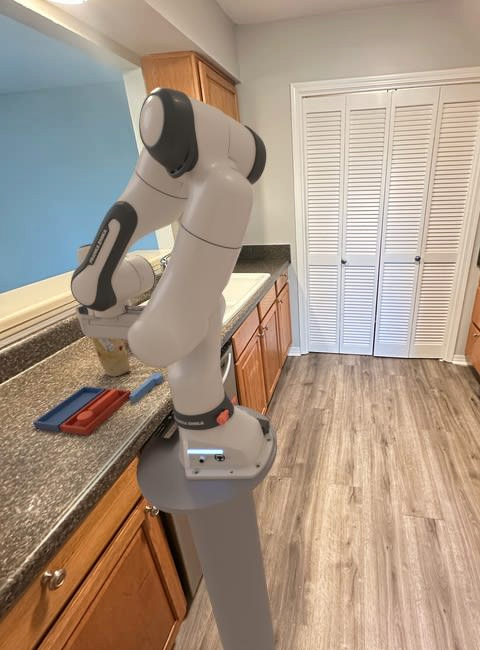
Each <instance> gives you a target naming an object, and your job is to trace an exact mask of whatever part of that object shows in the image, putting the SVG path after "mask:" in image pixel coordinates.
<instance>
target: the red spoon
mask: <svg viewBox="0 0 480 650" xmlns="http://www.w3.org/2000/svg"><path fill="white" fill-rule="evenodd" d="M112 389H113V390H111V391H110V392H109V393H107V394H106V395H105V396H104V397H102V398H101V399H100V400H99V401H97V402H96V403H95V404H94V405H92V406H91V407H90V408H89V409H88V410H89V411H85V412H82V413H81V414H79V415H78V416H77V419H78V422H79V424H80V425H82V426H84V425H88V424H90V423H91V422H92V421H94V420H95V416H96V415H98V414H99V413H100V412H101V411H102V410H104V409H105V408H106V407H107V406H108V405H109V404H111V403H112V402H113V401H114V400H115V399H117V398H118V397H119V393H118V390H119V389H117V388H112Z"/></svg>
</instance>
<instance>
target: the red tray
mask: <svg viewBox="0 0 480 650" xmlns="http://www.w3.org/2000/svg"><path fill="white" fill-rule="evenodd" d="M113 389H114V388H106V391H104V392H103V393H102V394H100V395H99V396H98V397H97V398H95V399H94V400H93V401H91V402H90V403H89V404H88V405H86V406H85V407H84V408H82V409H81V410H80V411H78V412H77V413H76V414H75V415H73V416H72V417H71V418H69V419H68V420H67V421H66V422H64V423H63V424H62V425H60V428H61V432H62V433H67V434H68V433H69V434H76V435H83V436H89V435H90V434H91V433H92V432H93V431H94V430H95V429H96V428H98V427H99V426H100V425H101V424H103V423H104V422H105V421H106V420H107V419H108V418H110V416H112V414H113V413H115V412H116V411H117V410H118V409H120V408H121V406H123V405H124V404H126V402H127V401H128V400H130V397H129V396H130V395H131V394H132V392H131V390H126V389H117V390H118V393H119V397H118V398H117V399H115V400H114V401H113V402H112V403H111V404H109V405H108V406H107V407H106V408H105V409H104V410H102V411H101V412H100V413H99V414H98V415H96V416H95V420H94V421H92V422H91V423H90V424H88V425H84V426H82V425H80V424H79V422H78V419H77V416H78V415H79V414H81V413H82V412H85V411H89V410H88V409H89V408H90V407H91V406H92V405H94V404H95V403H96V402H97V401H99V400H100V399H101V398H102V397H104V396H105V395H106V394H107V393H109V392H110V391H111V390H113Z"/></svg>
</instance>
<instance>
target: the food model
mask: <svg viewBox="0 0 480 650" xmlns="http://www.w3.org/2000/svg"><path fill="white" fill-rule="evenodd" d="M91 340H92V344H93V346H94V349H95V352H96V355H97V358H98V360H99V363H100V365H101V366H102V368H103V371H104V373H105V374H106V375H107V376H109V377H115V378H116V377H119V376H121V375H124V374H127V373H128V372H130V370H131V365H130V361H129V356H128V351H127V349H126V345H125V342H124V341H123V340H122V339H108V340H109V342H110V343H111V344H114V347H115V350H114V351H112V352H106V350H105V347H104V346H103V345H102V344H101V343H100V342H99V340H98V338H91Z"/></svg>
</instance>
